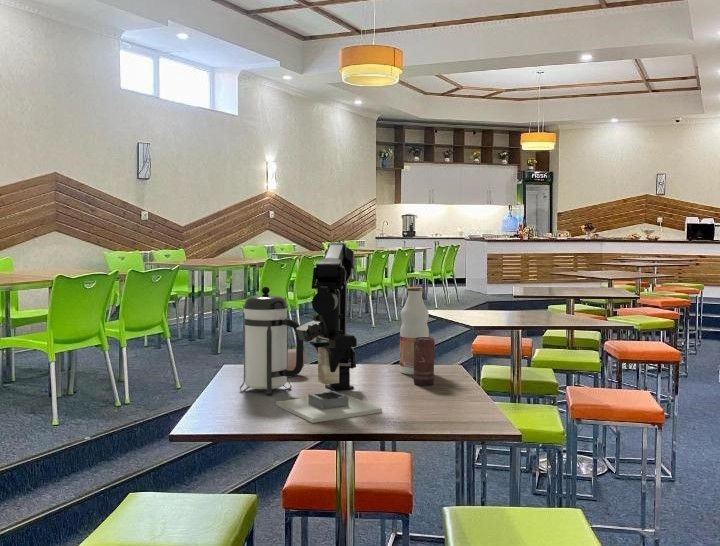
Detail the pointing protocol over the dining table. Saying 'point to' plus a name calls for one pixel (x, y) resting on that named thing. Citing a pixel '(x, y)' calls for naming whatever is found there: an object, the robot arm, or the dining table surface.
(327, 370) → the square peg
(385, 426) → the dining table surface
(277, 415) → the dining table surface
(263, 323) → the coffee press
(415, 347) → the can
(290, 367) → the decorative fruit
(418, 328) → the fruit juice
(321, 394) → the square socket
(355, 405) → the socket board
